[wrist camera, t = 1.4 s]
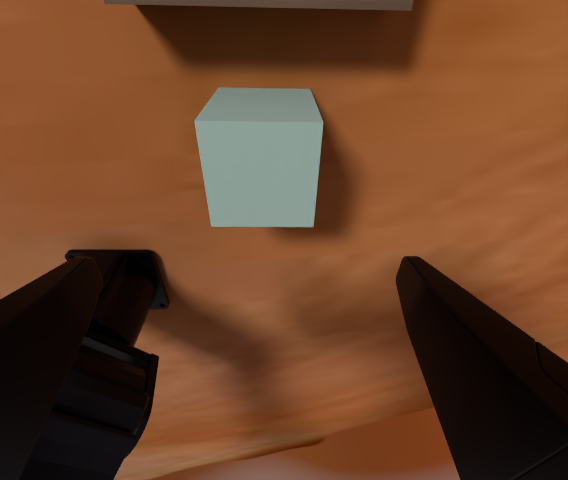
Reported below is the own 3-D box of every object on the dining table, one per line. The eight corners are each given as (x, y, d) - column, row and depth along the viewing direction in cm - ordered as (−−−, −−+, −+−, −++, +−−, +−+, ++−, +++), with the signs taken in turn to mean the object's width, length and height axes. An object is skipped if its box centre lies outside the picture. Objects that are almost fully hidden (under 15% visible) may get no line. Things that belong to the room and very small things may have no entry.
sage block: (304, 173, 20) (313, 227, 15) (227, 172, 19) (211, 226, 15) (310, 88, 16) (323, 122, 12) (218, 87, 16) (194, 120, 12)
